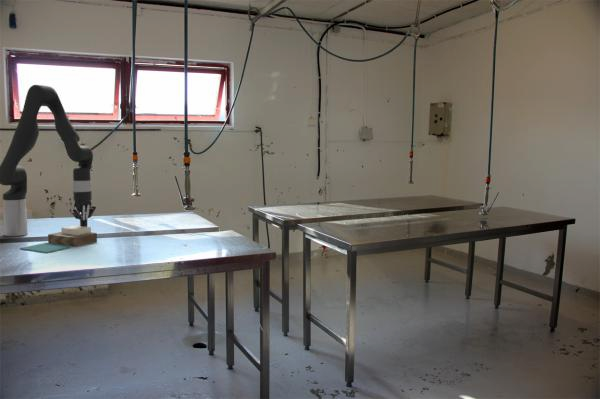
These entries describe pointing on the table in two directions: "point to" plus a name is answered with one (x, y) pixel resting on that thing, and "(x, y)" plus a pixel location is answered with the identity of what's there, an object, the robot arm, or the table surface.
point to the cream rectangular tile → (76, 230)
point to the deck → (72, 239)
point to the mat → (46, 247)
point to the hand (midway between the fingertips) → (83, 227)
